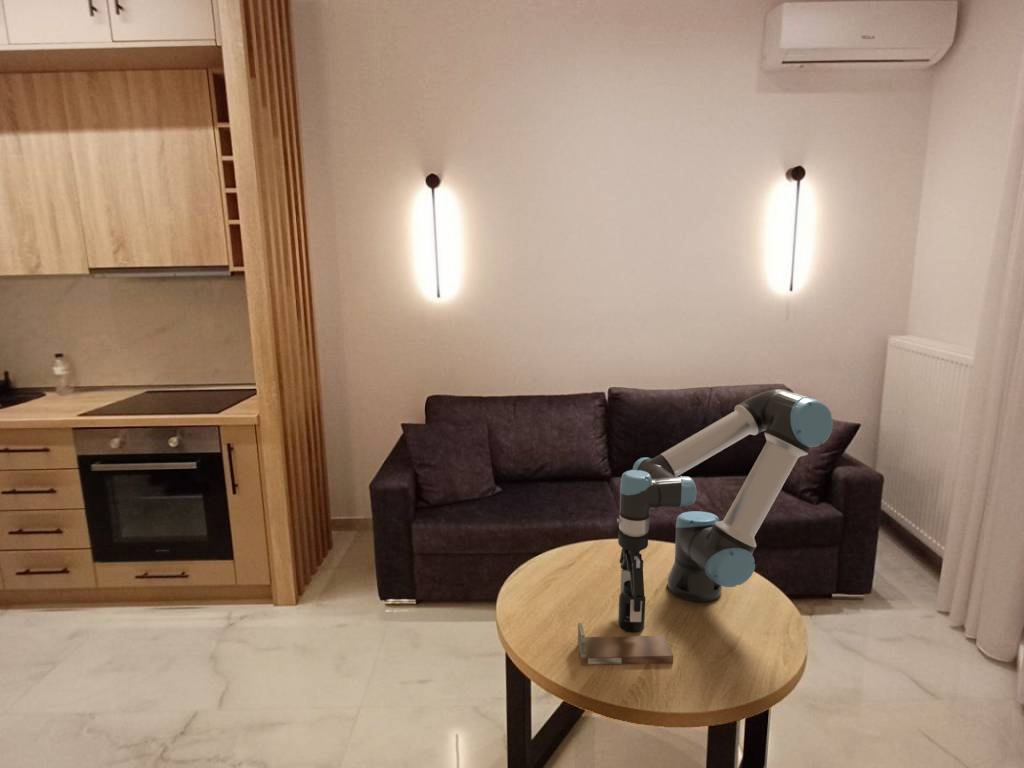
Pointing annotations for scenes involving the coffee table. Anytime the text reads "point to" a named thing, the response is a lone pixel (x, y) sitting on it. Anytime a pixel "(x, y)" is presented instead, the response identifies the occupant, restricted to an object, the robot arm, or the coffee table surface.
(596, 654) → the rail flange
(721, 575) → the robot arm
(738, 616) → the coffee table surface
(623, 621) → the supplement bottle
